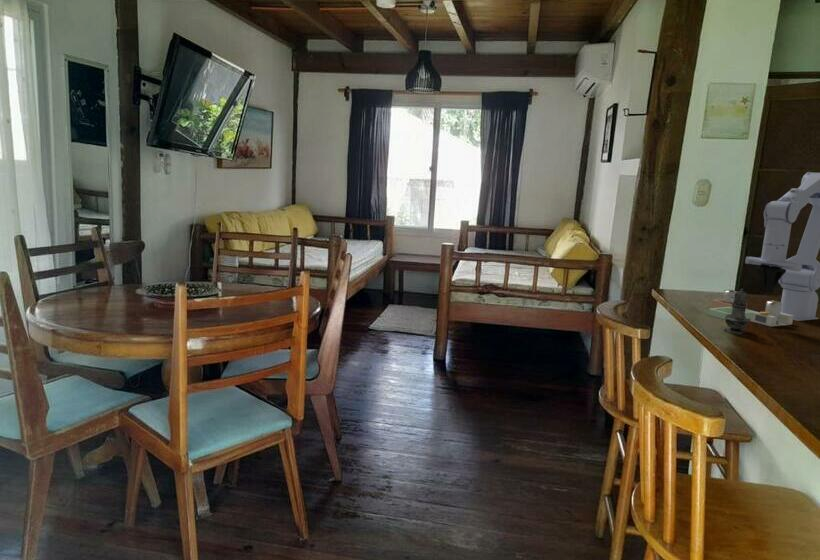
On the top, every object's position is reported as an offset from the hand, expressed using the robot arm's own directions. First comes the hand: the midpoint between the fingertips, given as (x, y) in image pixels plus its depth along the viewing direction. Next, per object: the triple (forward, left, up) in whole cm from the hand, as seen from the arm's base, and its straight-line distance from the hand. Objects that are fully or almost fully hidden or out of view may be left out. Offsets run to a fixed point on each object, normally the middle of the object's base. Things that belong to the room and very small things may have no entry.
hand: (767, 292), depth 148 cm
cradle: (-3, 0, -9) cm, 10 cm away
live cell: (-3, 0, -9) cm, 10 cm away
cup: (-5, -15, -9) cm, 19 cm away
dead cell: (-5, -15, -9) cm, 18 cm away
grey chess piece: (+16, +3, -10) cm, 19 cm away
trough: (+2, -9, -9) cm, 13 cm away
